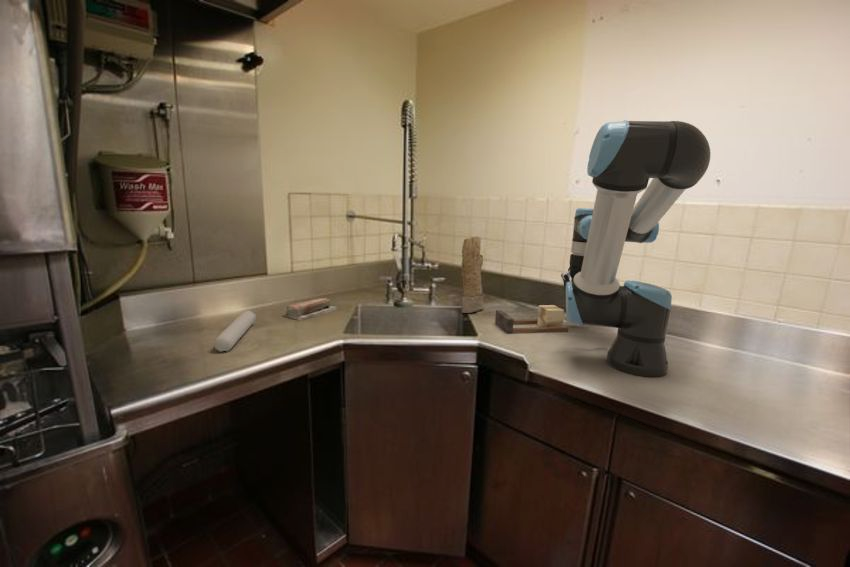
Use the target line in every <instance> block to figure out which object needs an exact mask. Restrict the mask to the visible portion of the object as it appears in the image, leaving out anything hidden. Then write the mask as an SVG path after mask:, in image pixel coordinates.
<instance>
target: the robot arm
mask: <svg viewBox="0 0 850 567" xmlns="http://www.w3.org/2000/svg"><path fill="white" fill-rule="evenodd" d="M710 161H711V148H710V144H709V141H708V139H707V137H706V136H705V135H704V133H703V132H702V131H701V129H699V128H698V127H697V126H695V125H694V124H691V123H689V122H685V121H679V120H671V121H668V120H667V121H665V120H664V121H660V120H659V121H658V120H657V121H655V120H654V121H653V120H651V121H650V120H622V121H609V122H606V123H605V124H603V125H602V126H601V127H600V128H599V129H598V131H597V133H596V135H595V138H594V139H593V142H592V145H591V149H590V153H589V156H588V162H587V166H586V167H587V168H586V169H587V170H586V171H587V175H588V176H589V177H591V178H592V181H591V183H592V185H593V186H594V187H595V188H596V189H597V190H596V195H595V200H594V205H593V208H586V207H578V208H576V210H575V215H574V218H573V219H574V222H573V223H574V224H573V229H572V230H573V232H572V240H571V249H570V252H571V254H570V256H569V257H570V258H569V267H568V269H567V271H566V272H565V273H561V274H560V277H561V278H562V281H563V291H564V298H565V312H566V318H567V321H568V322H570V323H572V324H578V325H582V326H595V327H597V326H598V327H606V328H613V329H614V328H617V332H616V336H615V338H614V341H613V342H612V344H611V346H610V348H609V349H608V351H607V354H606V363H608V364H609V366H612V367H613V368H614V369H617V370H618V371H620V372H621V371H622V372H624V373H628V374H632V375H636V376H640V377H641V376H642V377H649V378H650V377H651V378H653V377H654V378H655V377H662V376H665V375H667V373H668V368H669V362H668V360H667V359H668V357H667V352H666V345H665V341H666V336H667V332H668V331H667V330H668V324H669V319H670V315H671V310H672V299H673V296H672V292H670V291H669V290H667V289H666V288H663V287H661V286H658V285H655V284H651V283H646V282H641V281H635V280H626V281H624V283H623V285H620V282H619V280H618V279H617V278H616V277H617V273H618V270H619V265H620V261H621V257H622V254H623V250H624V247H625V242H626V243H638V244H643V243H645V244H646V243H649V244H650V243H653V242H655V241H656V240H657V236H658V235H659V231H660V223H659V222H660V221H661V219H662V218H663V217H664V216H665V215H666V214H667V212H668V211H669V210H670V209H671V208H672V206H673V205H674V204H675V203H676V202H677V200H678V199H679V198H680V197H681V196H682V194H683V193H684V192H685V191H686V190H687V189H691V188H693V187H694V186H696V185H697V184H698V182H699V181H700V180H701V179H702V178H703V177H704V175H705V174H706V172H707V170H708V168H709V165H710ZM650 179H651V180H650ZM649 180H650V183H649ZM641 192H643V194H642V195H641V196H640V198H638V201H637V202H636V200H637V196H638V194H639V193H641ZM570 279H571V280H570Z"/></svg>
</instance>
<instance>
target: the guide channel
mask: <svg viewBox="0 0 850 567" xmlns="http://www.w3.org/2000/svg"><path fill="white" fill-rule="evenodd" d="M494 320H495V322H494V324H495V325H496V326H497V327H498V328H499V329H500V330H502V331H503V332H504V333H505V334H507V335H508V334H538V333H539V334H541V333H546V334H548V333H568V331H569V327H568V326H562V327H540V326H539V327H538V326H537V327H536V326H535V327H531V326H530V327H514V325H537V320H538V318H532V319H531V318H528V319H527V318H526V319H525V318H524V319H523V318H522V319H520V318H519V319H514V318H512V316H511V315H508V313H506V312H505V311H503V310H501V309H500V310H498V309H497V310H496V311H495V319H494Z"/></svg>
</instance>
